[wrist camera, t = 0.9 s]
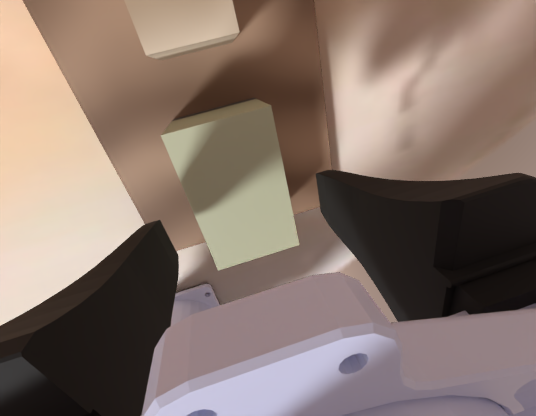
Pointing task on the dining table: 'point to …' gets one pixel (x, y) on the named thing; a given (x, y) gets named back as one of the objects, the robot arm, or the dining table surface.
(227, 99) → the walnut board
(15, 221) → the dining table surface
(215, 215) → the block
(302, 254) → the dining table surface
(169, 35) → the birch offcut
